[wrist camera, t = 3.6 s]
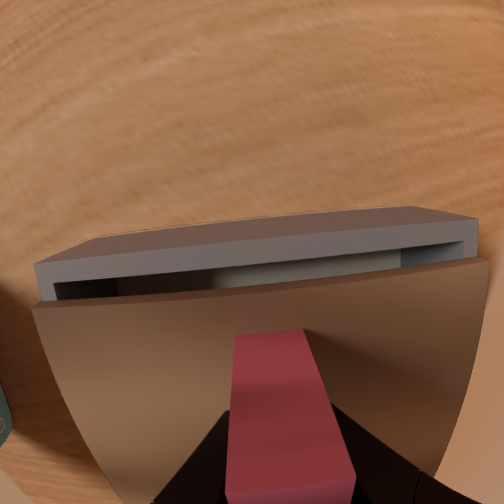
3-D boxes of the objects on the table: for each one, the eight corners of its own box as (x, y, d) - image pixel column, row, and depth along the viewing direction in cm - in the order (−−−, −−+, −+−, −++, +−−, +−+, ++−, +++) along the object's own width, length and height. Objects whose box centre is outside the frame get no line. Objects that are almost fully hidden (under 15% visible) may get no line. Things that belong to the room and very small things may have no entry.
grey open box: (379, 463, 16) (403, 520, 11) (177, 485, 16) (165, 545, 11) (405, 205, 12) (478, 218, 8) (101, 235, 13) (33, 264, 8)
